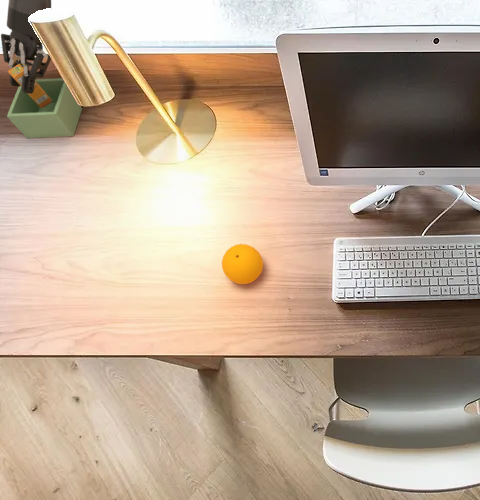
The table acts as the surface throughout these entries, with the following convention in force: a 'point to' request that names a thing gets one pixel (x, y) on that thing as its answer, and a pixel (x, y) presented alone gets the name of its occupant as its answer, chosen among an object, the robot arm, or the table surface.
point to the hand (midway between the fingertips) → (21, 88)
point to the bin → (46, 111)
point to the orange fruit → (242, 263)
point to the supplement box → (38, 92)
